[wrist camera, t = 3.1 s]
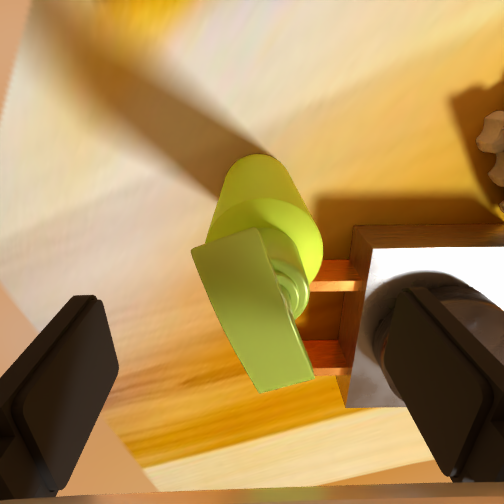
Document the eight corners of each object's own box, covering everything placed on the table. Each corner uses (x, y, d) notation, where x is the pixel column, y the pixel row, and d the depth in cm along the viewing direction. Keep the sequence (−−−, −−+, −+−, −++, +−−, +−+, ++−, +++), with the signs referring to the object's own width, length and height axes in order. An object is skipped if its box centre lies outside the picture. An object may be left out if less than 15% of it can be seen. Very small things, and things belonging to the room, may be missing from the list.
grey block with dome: (255, 226, 29) (257, 269, 22) (506, 223, 29) (591, 264, 22) (256, 371, 37) (258, 437, 29) (453, 368, 37) (503, 433, 29)
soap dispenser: (274, 130, 25) (338, 205, 7) (299, 207, 28) (390, 400, 10) (207, 157, 26) (114, 283, 8) (238, 229, 29) (220, 442, 11)
